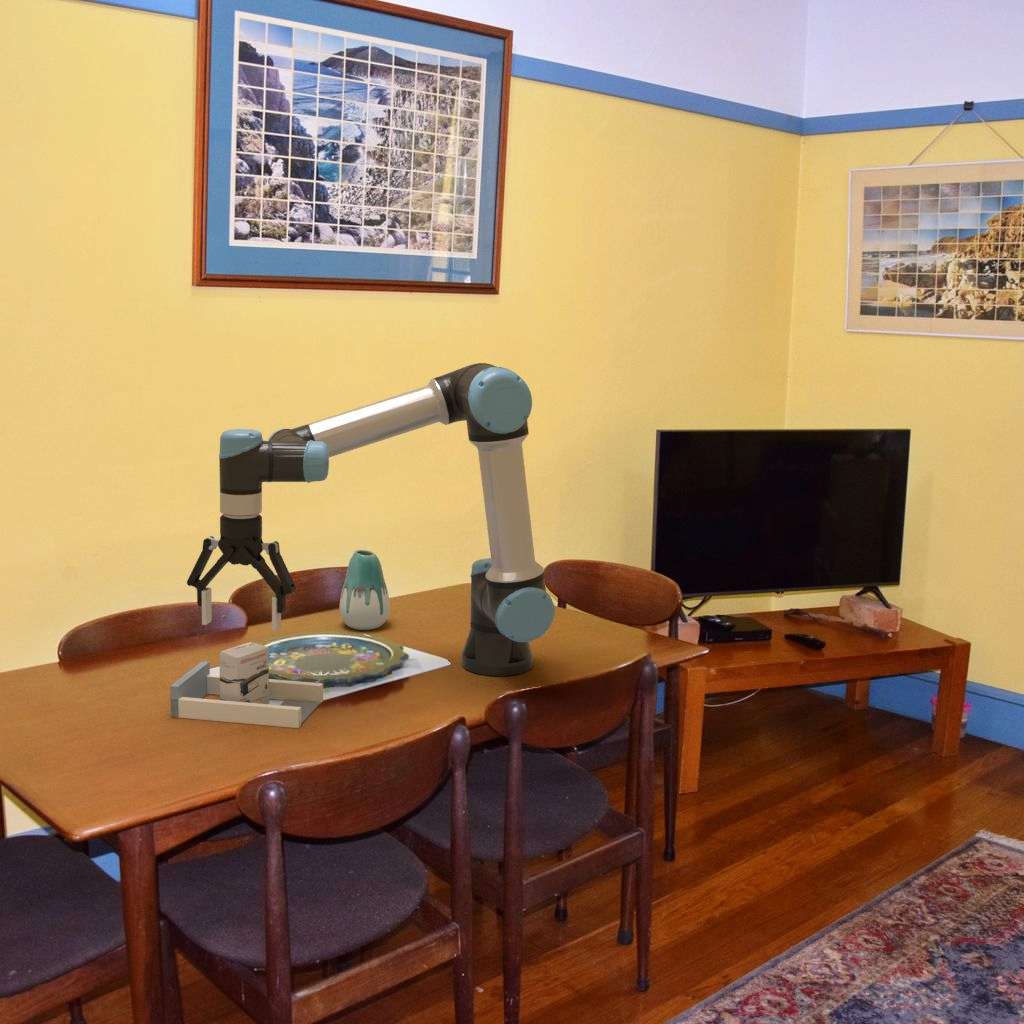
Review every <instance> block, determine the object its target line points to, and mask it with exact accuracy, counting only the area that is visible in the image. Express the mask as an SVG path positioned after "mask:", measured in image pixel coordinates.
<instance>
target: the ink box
mask: <svg viewBox="0 0 1024 1024" xmlns="http://www.w3.org/2000/svg"><path fill="white" fill-rule="evenodd" d="M269 666H270V665H269V646H265V645H262V644H259V643H255V642H254V641H249V642H246V643H243V644H240V645H237V646H233V647H230V648H227V649H224V650H221V651H220V653H219V675H220V695H219V700H224V701H236V702H248V703H259V704H270V699H269V679H270V674H269V673H270V672H269V670H270V669H269Z"/></svg>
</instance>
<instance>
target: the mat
mask: <svg viewBox="0 0 1024 1024" xmlns="http://www.w3.org/2000/svg"><path fill="white" fill-rule="evenodd" d="M279 705H282V706H294V707H301V725H303V724H304V723H305V722H306V720H307V719H308V718H309V717H310V716H311V715H312V714H313V713H314V712H315V711H316V709H317V708H319V706H320V705H321V703H318V702H307V701H295V700H282V702H281V703H280V704H279Z"/></svg>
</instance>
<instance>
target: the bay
mask: <svg viewBox="0 0 1024 1024" xmlns="http://www.w3.org/2000/svg"><path fill="white" fill-rule="evenodd" d="M210 665H211V663H210V661H205V660H204V661H203V660H202V661H201V662H200V663H198V664H197V665H196V666H193V668H191V669H190V670H189V671H188V672H186V673H185V674H184V675H182V676H181V677H180V678H178V679H177V680H176V681H175V682H174V683H172V684H171V685H169V686H170V687H169V691H170V692H169V694H170V695H169V696H170V717H171V718H179V719H180V718H181V719H190V720H201V721H202V720H203V721H210V722H211V721H212V722H213V721H214V722H224V723H237V724H246V725H247V724H248V725H249V724H250V725H256V726H257V725H260V726H268V727H269V726H270V727H280V728H293V729H299V728H301V726H302V724H301V707H294V706H282V705H280V704H270V703H269V704H259V703H248V702H236V701H224V700H220V699H210V698H204V697H205V696H206V695H207V694H208V695H218V696H220V674H215V673H214V674H213V673H211V670H210ZM269 700H275V701H277V700H278V701H284V700H295V701H307V702H318V703H320V704H322V703H323V701H324V683H322V682H321V683H320V682H311V681H309V682H308V681H300V680H299V681H298V680H296V681H295V680H285V679H284V680H283V679H274V678H273V679H271V678H269Z"/></svg>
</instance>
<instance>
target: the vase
mask: <svg viewBox="0 0 1024 1024" xmlns="http://www.w3.org/2000/svg"><path fill="white" fill-rule="evenodd" d="M339 599H340V600H339V605H338V606H339V607H338V608H339V613H340V617H341V619H342V622H343V623H344V624H345V625H346V626H348V627H349V628H350V629H354V630H358V631H371V630H375V629H377V628H380V627H383V625H384V624H385V623H386V621H387V620H388V617H389V615H390V611H391V603H390V596H389V591H388V588H387V584H386V580H385V576H384V571H383V568H382V564H381V561H380V559H379V557H378V556H377V554H376V553H374V552H373V551H372V550H367V549H366V550H365V549H357V550H355V551H354V552H353V553H352V556H351V557H350V559H349V562H348V566H347V570H346V575H345V579H344V582H343V586H342V589H341V593H340V598H339Z"/></svg>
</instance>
